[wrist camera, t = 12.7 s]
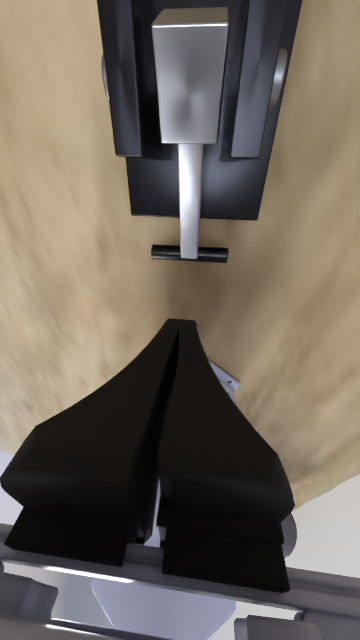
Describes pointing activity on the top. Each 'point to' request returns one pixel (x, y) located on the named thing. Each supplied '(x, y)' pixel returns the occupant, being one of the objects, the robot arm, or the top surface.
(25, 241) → the top surface
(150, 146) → the tap bracket
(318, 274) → the top surface
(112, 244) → the top surface
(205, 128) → the tap lever
